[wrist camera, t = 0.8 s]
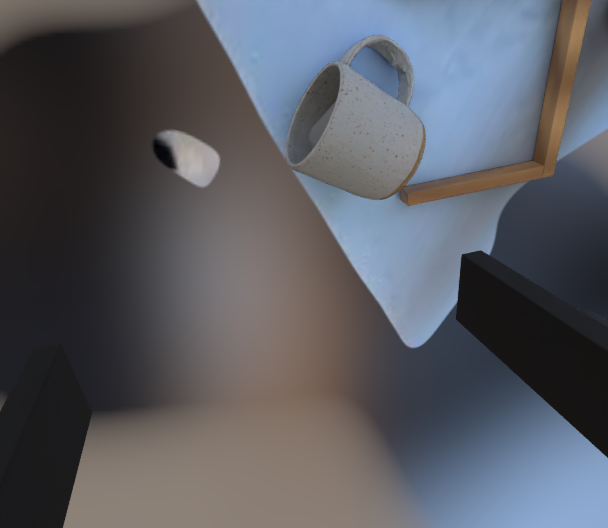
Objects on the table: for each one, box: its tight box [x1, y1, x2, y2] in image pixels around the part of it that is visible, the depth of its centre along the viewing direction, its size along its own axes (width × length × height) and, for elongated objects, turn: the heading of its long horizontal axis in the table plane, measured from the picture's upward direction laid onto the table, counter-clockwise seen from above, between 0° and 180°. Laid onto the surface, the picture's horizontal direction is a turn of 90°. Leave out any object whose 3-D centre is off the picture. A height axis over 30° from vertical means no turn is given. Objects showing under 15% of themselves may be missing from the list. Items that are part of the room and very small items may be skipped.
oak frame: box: [400, 0, 591, 206], centre depth 33 cm, size 17×14×2 cm
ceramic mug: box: [285, 35, 426, 200], centre depth 29 cm, size 11×8×8 cm
